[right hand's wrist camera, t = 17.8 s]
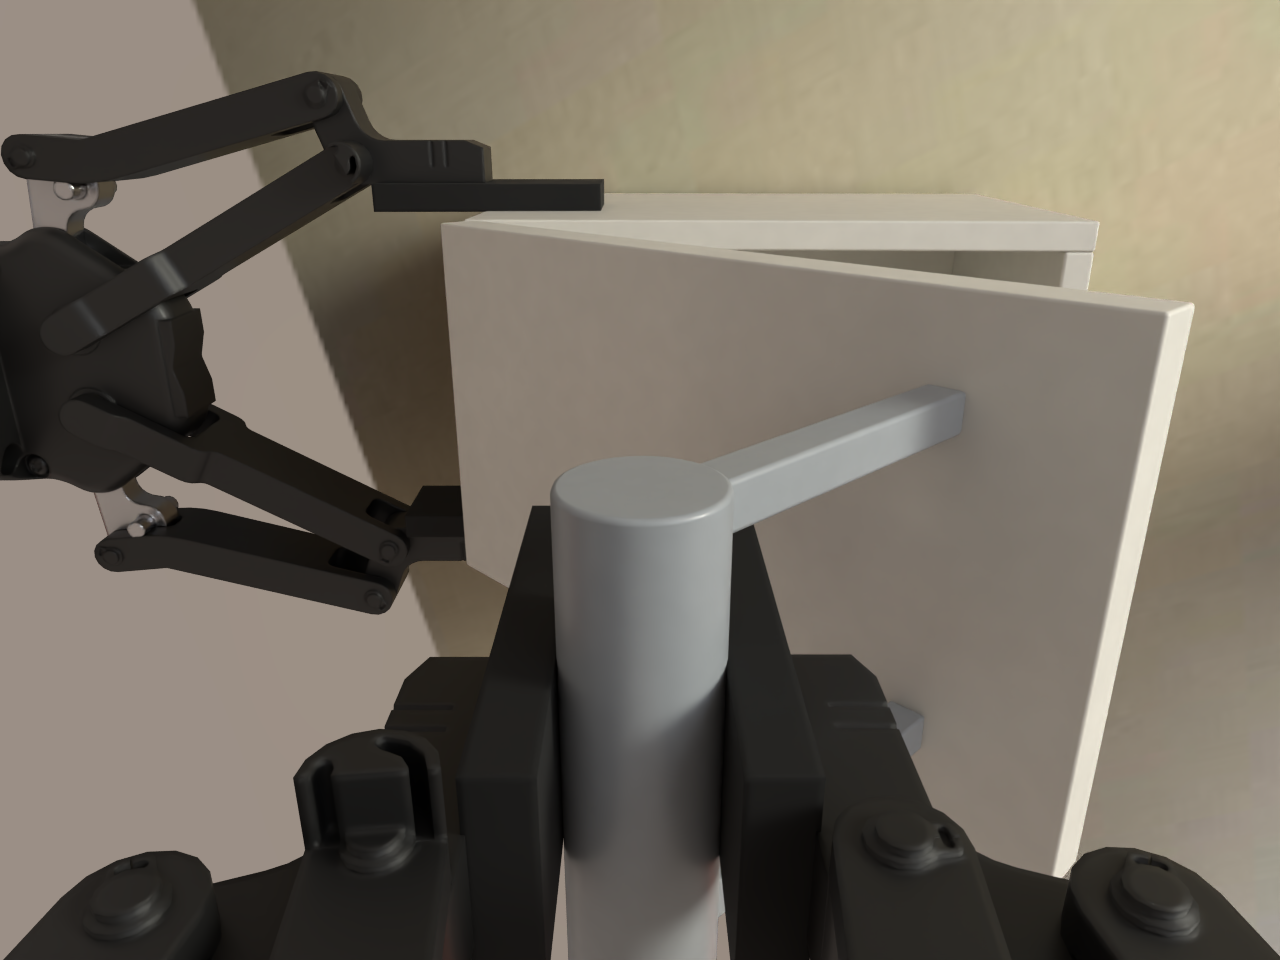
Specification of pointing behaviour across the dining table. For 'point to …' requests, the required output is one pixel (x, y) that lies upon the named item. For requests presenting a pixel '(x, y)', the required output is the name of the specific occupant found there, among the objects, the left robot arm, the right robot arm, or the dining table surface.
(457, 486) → the left robot arm
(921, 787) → the right robot arm
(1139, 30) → the dining table surface
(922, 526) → the lid
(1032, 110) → the dining table surface
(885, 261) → the chest
